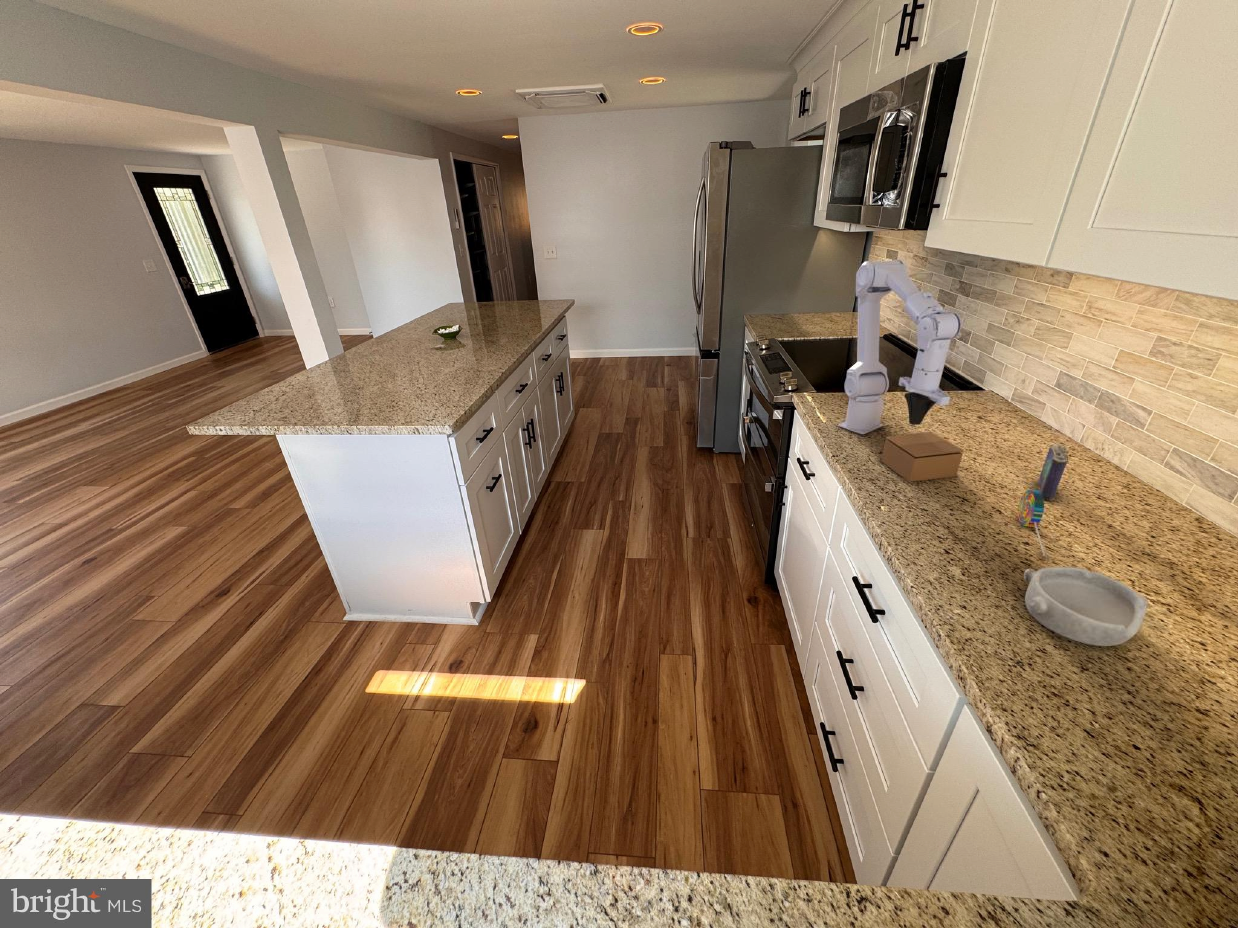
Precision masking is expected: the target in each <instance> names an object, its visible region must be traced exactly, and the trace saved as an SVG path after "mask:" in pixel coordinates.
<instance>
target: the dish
mask: <svg viewBox="0 0 1238 928" xmlns="http://www.w3.org/2000/svg"><path fill="white" fill-rule="evenodd" d="M1023 577H1024V581H1025V582H1026V583H1028V586H1027V589H1026V591H1025V595H1024V603H1025V607H1026V609H1027V611H1028V612H1029V614H1030V615H1031V616H1032V617H1033V619H1034V620H1036V621H1037V622H1038V623H1039V624H1041V625H1042V626H1044V627H1045V628H1046V629H1048V630H1050V631H1052V632H1054V633H1056V634H1058V635H1060V636H1062V637H1065V638H1066V639H1070V640H1073V641H1075V642H1078V643H1083V644H1086V645H1090V646H1098V647H1110V646H1111V647H1112V646H1118V645H1122V644H1124V643H1126V642H1127V641H1129V640H1130V639H1132V638H1133V637H1134V636H1135V635H1136V634H1137V633H1138V631H1139V630H1140V628H1141V626H1142V624H1143V622H1144V619H1145V616H1146V613H1147V610H1148V606H1149V600H1148V599H1147V597H1146V596H1145V595H1144V594H1140V593H1137V592H1136V591H1135V590H1134V589H1132V588H1131V587H1130V586H1128V585H1126V584H1124V583H1122V582H1120V581H1118V580H1117V579H1115V578H1111V577H1110V576H1108V575H1105V574H1103V573H1101V572H1098V571H1091V570H1087V569H1085V568H1082V567H1081V568H1080V567H1073V566H1072V567H1071V566H1048V567H1047V566H1046V567H1041V568H1039V569H1038V570H1035V569H1033V568H1027V569H1025V571H1024V573H1023Z"/></svg>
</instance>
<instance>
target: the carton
mask: <svg viewBox="0 0 1238 928" xmlns="http://www.w3.org/2000/svg"><path fill="white" fill-rule="evenodd" d="M963 452H964V449H962V448H960V447H959V446H957V445H955V444H954V443H952V442H950V441H948V440H946V441H940V442H931V443H922V444H913V445H904V446H901V447H899V446H897V445H896V444H894V443H893V442H892V441H890V440H889V439H887V438H886V439H885V440H884V445H883V449H882V454H881V459H880V462H881V463H883V464H884V465H886V466H887V467H888V468H890V469H891V470H892V471H894V472H895V473H897V474H898V475H899V476H900V477H902V478H903V479H904V480H905V481H907V482H909V483H912V482H919V481H927V480H935V479H944V478H945V479H946V478H952V477H957V474H958V472H959V468H960V464H961V461H962V459H963V454H964V453H963Z"/></svg>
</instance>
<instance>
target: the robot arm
mask: <svg viewBox="0 0 1238 928" xmlns="http://www.w3.org/2000/svg"><path fill="white" fill-rule="evenodd" d="M908 271H909V267H908V265H907V264H906V263H905V262H904V260H902V259H895V260H894V259H893V260H881V261H880V260H879V261H864V262H863V263H861V265H860V267H859V268H858V270H857V271H856V273H855V297H856V298H857V345H856V346H857V347H856V349H857V350H856V351H857V352H856V359H857V360H856V363H855V364H853V365H852V366H851V367H849V369H847V371H846V377H845V381H844V385H843V386H844V392H845V394H846V396H847V397H848V399H849V400H848V405H847V410H846V416H845V421H843V422H841V423H838V425H837V426H838V427H839V428H843V429H845V430H848V431H851V432H854V433H857V434H859V435H865V434H868V433H871V432H873V431H875V430H877V429H879V428H882V427H883V426H884V425H883V424H882V423H881V419H882V415H883V411H884V400H883V398H882V397H883V396H884V395H886V393H887V392H888V390H889V387H890V382H889V381H890V380H889V377H888V367H886V366H884V365H883V364H882V363H881V362H880V361H879V360H880V328H881V327H880V324H881V323H880V321H881V301H882V300H883V299H884V297H885V296H887V295H889V294H890V293H892V292H893V293H894V294H895V295H897V297H899V298H900V299H901V300H902V301H903V303H905V304H904V305H903V306H904V307H903V309H904V310H903V311H904V312H905V313H906V314H907V315H908V317H909V318H910V320H912V321H913V323H914V324H915V325H916V336H917V342H916V345H917V348H918V349H917V353H916V357H915V362H914V366H913V370H912V375H911V377H909V376H900V377H899V380H898V386H900V387H905V389H904V390H905V391H907V392H906V393H904V399H905V401H906V405H907V409H908V423H909V424H911V425H912V426H917V425H921V423H922V422H923V421H924V419H925V417H926V416H927V414H928V412H929V411H930V410H931V409H932V408H933V407H934V405H935V404H937V405H938V406H940V407H942V406H949V403H950V399H951V396H950V395H948V394H946V393H945V392H944V391H943V390H942V389H941V388H940V383H941V380H942V375H943V372H944V369H945V368H944V367H945V364H946V362H947V361H946V360H947V356H948V352H949V350H950V345H951V341H952V340H953V339H954V340H955V338H957V337H958V336H959V334H960V332H961V330H962V320H961V318H960V315H959V314H958V312H956V311H948V310H945V309H944V307H943V306H942V305H940V304H939V303H938V301H937V300H935V298H934V297H933V296H934V295H933V293H931V292H928V291H920V290H919V289H918V287H917V286H916V285H915V283H914V282H913V280H912V279H911V278H910V275H909V274H908Z"/></svg>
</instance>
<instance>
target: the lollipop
mask: <svg viewBox="0 0 1238 928" xmlns="http://www.w3.org/2000/svg"><path fill="white" fill-rule="evenodd" d="M1017 510H1018V511H1017V516H1018V521H1019V523H1020V525H1021V526H1023V527H1030V528H1035V531H1036V535H1037V538H1038V542H1039V545H1040V549H1041V552H1042V555H1043V557H1046V553H1045V549H1044V545H1043V542H1042V540H1041V536H1040V532H1039V529H1038V525H1039V524H1040V523H1041V521H1042V518H1043V515H1044V510H1045V499H1044V498H1043V495H1042V493H1041V492H1040V490H1036V489H1026V490H1025V491H1023V493H1022V494H1021V497H1020V498H1019V502H1018V508H1017Z"/></svg>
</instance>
